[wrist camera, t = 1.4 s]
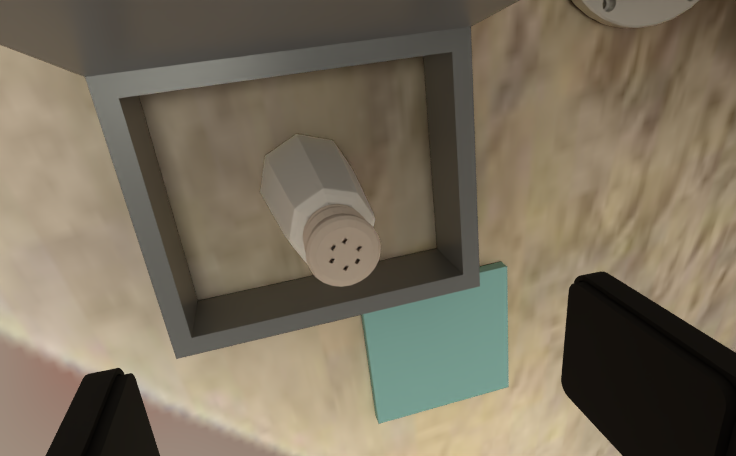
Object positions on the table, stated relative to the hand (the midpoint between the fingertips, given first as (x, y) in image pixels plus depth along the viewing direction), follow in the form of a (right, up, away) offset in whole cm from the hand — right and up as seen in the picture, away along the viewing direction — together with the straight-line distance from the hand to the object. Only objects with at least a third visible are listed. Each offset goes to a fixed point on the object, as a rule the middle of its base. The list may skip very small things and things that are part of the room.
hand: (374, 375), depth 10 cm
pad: (+5, -5, +23) cm, 24 cm away
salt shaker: (-4, +6, +17) cm, 19 cm away
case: (-4, +6, +17) cm, 19 cm away
